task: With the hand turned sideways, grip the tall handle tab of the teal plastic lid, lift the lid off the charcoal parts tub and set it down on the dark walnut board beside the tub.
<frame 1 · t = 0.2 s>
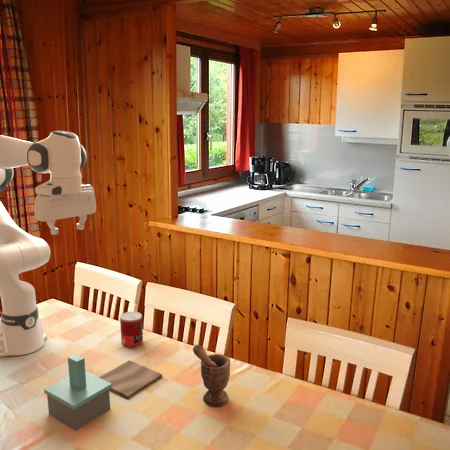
hand: (67, 231, 147), 48 cm above the table, tool pointing down, fingers open, 8 cm apart
mortar and pestle: (212, 403, 144), on the table
canned food: (132, 343, 179), on the table
lid: (78, 393, 138), point 6 cm above the table, touching tub
tub: (79, 411, 139), on the table
board: (128, 379, 155), on the table
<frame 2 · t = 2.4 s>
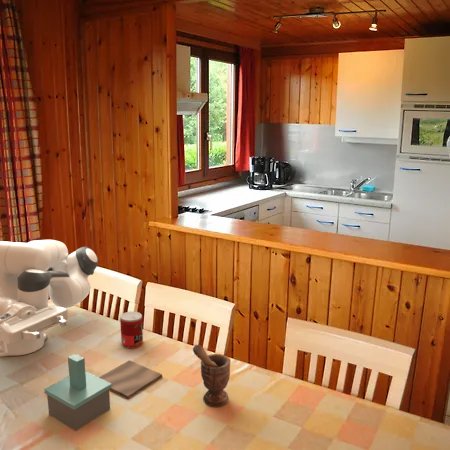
hand: (51, 330, 141), 22 cm above the table, tool horizontal, fingers open, 8 cm apart
nothing on the table moved.
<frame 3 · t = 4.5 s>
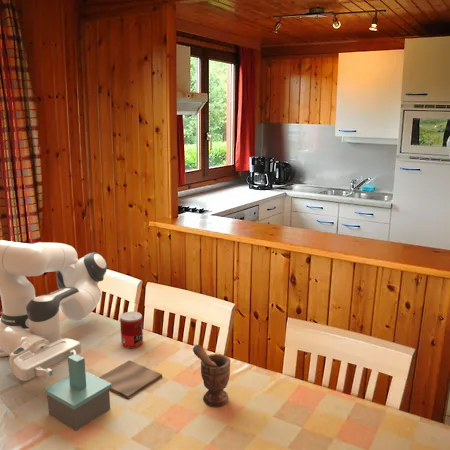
hand: (64, 366, 141), 12 cm above the table, tool horizontal, fingers open, 8 cm apart
nothing on the table moved.
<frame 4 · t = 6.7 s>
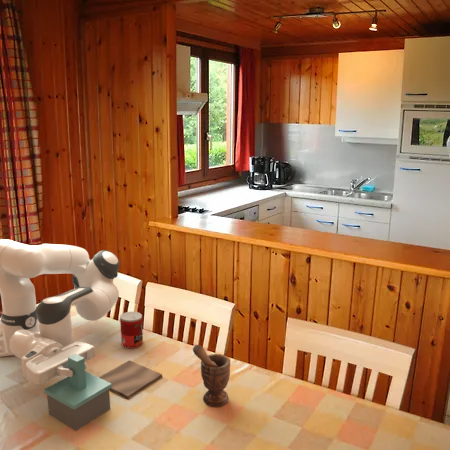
hand: (78, 370, 135), 14 cm above the table, tool horizontal, fingers closed on lid, 2 cm apart
lid: (78, 393, 138), point 6 cm above the table, touching gripper, tub
everything else where it was.
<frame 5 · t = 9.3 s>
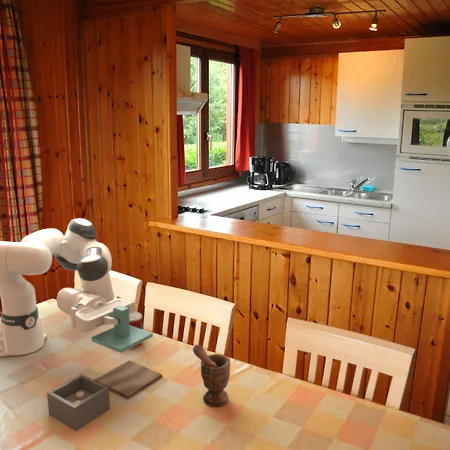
hand: (123, 319, 147), 22 cm above the table, tool horizontal, fingers closed on lid, 2 cm apart
lid: (122, 341, 149), point 15 cm above the table, touching gripper
everything else where it was.
when the fingers open (10 cm above the table, at t = 12.1 s): lid drops 1 cm, resting on board.
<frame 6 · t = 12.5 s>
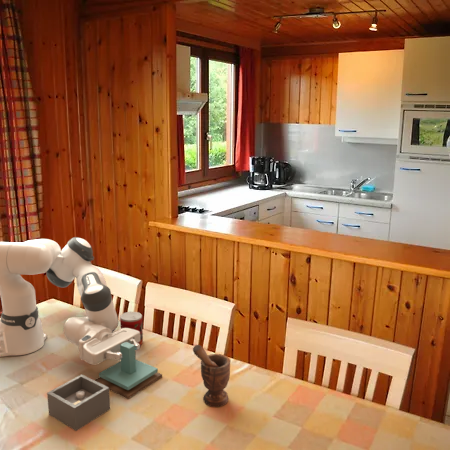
hand: (129, 352, 152), 10 cm above the table, tool horizontal, fingers open, 6 cm apart
lid: (128, 377, 155), point 1 cm above the table, touching board
everything else where it was.
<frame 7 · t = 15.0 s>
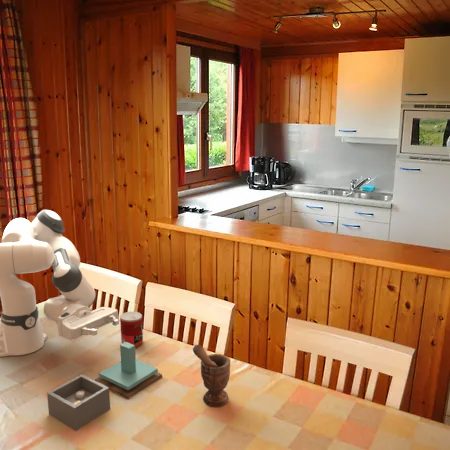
hand: (106, 327, 159), 14 cm above the table, tool horizontal, fingers open, 8 cm apart
nothing on the table moved.
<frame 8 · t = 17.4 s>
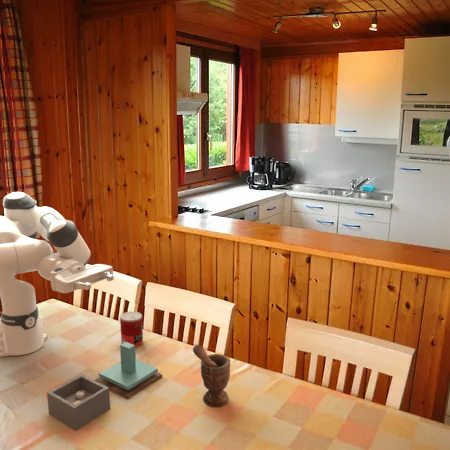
hand: (100, 282, 155), 30 cm above the table, tool horizontal, fingers open, 8 cm apart
nothing on the table moved.
at the end: lid touching board; lid inside the target area on the board (0.1 cm from its centre), point 1.0 cm above the board's base; lid tilted 0° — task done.
